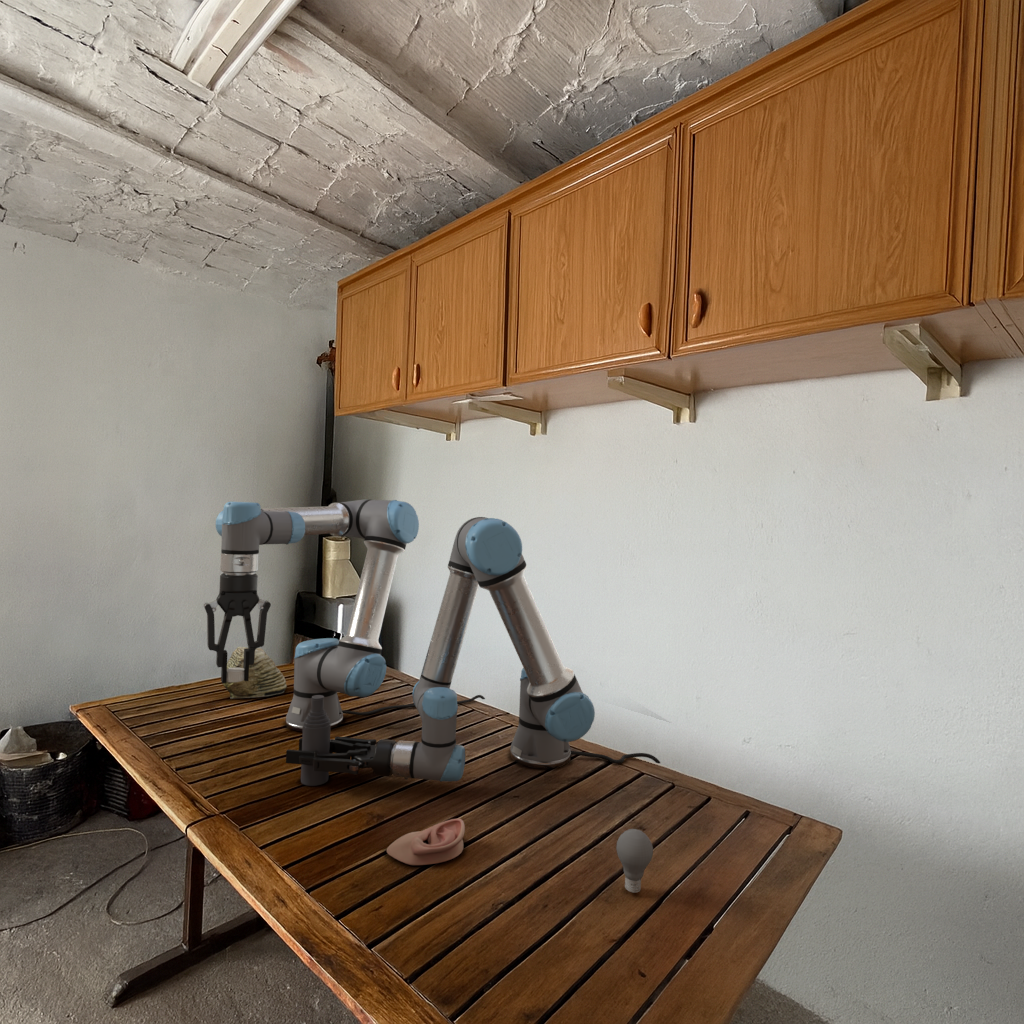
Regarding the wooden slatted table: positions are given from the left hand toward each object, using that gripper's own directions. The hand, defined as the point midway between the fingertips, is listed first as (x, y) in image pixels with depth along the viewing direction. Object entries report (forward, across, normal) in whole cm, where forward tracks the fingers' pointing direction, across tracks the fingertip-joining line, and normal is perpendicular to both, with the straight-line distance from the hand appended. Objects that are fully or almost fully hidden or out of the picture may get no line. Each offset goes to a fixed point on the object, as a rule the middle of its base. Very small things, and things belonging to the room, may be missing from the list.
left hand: (234, 680), depth 137 cm
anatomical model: (+23, +28, -42) cm, 56 cm away
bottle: (+23, +17, -6) cm, 29 cm away
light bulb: (+23, +54, -69) cm, 90 cm away
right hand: (+16, +12, -2) cm, 21 cm away
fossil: (+22, +14, +62) cm, 67 cm away
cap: (-2, 0, 0) cm, 2 cm away
